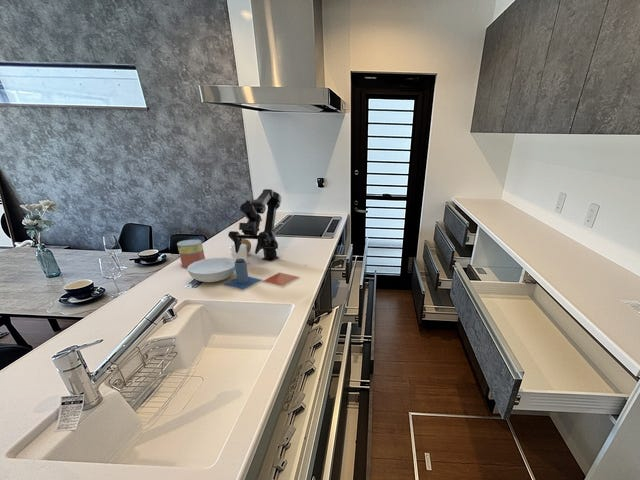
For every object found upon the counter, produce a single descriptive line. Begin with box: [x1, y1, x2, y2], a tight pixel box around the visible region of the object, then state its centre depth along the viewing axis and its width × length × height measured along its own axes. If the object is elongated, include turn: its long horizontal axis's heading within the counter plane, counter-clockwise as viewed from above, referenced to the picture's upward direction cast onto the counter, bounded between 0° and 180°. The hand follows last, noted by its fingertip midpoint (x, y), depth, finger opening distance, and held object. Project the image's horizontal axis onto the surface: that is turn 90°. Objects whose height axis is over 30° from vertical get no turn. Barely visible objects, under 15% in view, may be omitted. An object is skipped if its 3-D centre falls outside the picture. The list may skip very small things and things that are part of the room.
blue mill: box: [234, 259, 249, 284], centre depth 139 cm, size 5×5×11 cm
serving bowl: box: [186, 257, 236, 283], centre depth 144 cm, size 21×21×7 cm
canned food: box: [176, 238, 206, 269], centre depth 159 cm, size 11×11×12 cm
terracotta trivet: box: [263, 272, 299, 287], centre depth 146 cm, size 12×12×1 cm
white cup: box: [229, 244, 248, 265], centre depth 162 cm, size 8×8×10 cm
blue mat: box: [222, 276, 262, 290], centre depth 141 cm, size 12×12×1 cm
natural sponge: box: [241, 239, 252, 255], centre depth 174 cm, size 9×9×10 cm
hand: (246, 253), depth 141 cm, fingers open, 9 cm apart
